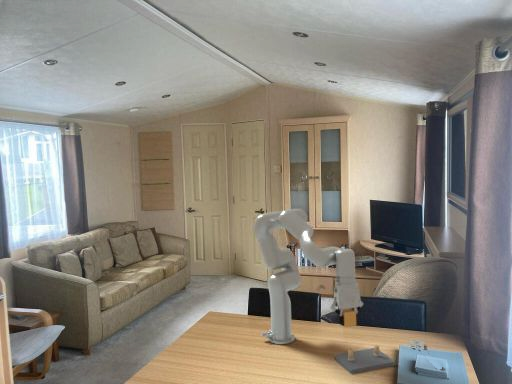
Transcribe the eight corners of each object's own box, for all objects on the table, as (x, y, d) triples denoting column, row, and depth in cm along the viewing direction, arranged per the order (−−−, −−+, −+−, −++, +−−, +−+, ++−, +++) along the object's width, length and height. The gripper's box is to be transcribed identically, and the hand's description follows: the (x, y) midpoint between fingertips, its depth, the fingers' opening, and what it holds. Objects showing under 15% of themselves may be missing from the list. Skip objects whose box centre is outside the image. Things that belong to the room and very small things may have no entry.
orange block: (345, 327, 163) (344, 312, 163) (339, 323, 168) (338, 309, 168) (356, 325, 165) (355, 311, 165) (350, 321, 170) (349, 307, 170)
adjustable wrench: (444, 371, 158) (444, 366, 158) (427, 371, 159) (427, 367, 159) (421, 343, 183) (421, 339, 183) (407, 343, 184) (406, 340, 184)
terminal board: (351, 373, 158) (350, 359, 157) (334, 358, 171) (333, 345, 171) (395, 365, 163) (395, 351, 163) (375, 351, 177) (375, 338, 176)
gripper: (331, 284, 160) (333, 329, 161) (369, 279, 165) (371, 323, 165) (322, 279, 167) (324, 323, 168) (359, 275, 172) (361, 317, 173)
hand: (347, 323), depth 167 cm, fingers closed on orange block, 4 cm apart
